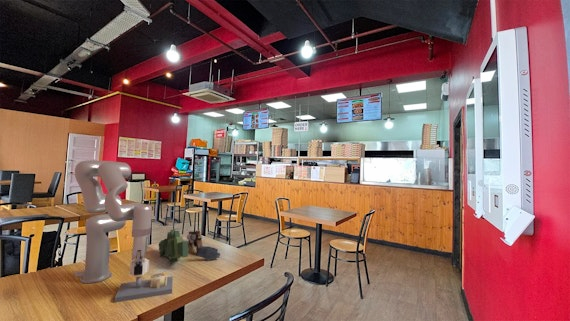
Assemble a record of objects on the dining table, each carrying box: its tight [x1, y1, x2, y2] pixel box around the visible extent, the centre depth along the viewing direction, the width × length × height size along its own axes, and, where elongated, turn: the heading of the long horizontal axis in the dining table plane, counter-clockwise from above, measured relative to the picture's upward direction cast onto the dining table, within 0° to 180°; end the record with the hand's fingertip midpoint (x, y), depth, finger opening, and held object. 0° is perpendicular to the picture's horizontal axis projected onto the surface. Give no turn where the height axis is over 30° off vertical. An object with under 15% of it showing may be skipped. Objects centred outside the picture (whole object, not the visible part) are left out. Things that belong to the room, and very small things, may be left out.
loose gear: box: [129, 257, 150, 277], centre depth 111 cm, size 7×7×5 cm
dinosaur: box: [158, 229, 190, 263], centre depth 148 cm, size 35×12×19 cm, turn 42°
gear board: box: [114, 271, 174, 303], centre depth 112 cm, size 22×13×8 cm, turn 115°
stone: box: [195, 245, 221, 262], centre depth 149 cm, size 14×6×10 cm, turn 130°
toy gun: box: [186, 230, 203, 254], centre depth 169 cm, size 5×28×15 cm, turn 35°
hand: (139, 270), depth 111 cm, fingers closed on loose gear, 7 cm apart
